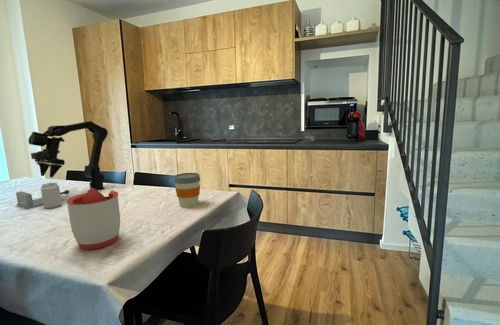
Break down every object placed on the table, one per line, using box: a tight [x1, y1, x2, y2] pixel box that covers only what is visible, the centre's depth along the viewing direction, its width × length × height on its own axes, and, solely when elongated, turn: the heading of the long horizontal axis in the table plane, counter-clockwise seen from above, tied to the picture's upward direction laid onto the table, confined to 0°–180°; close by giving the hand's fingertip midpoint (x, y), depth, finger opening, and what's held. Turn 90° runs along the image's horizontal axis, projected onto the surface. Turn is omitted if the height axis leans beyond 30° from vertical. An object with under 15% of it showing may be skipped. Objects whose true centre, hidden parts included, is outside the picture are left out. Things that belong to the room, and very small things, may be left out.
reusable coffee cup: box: [173, 172, 201, 208], centre depth 133 cm, size 13×12×15 cm
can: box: [40, 182, 63, 209], centre depth 135 cm, size 8×8×12 cm
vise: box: [15, 189, 70, 210], centre depth 145 cm, size 22×13×7 cm, turn 148°
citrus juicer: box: [65, 188, 121, 250], centre depth 94 cm, size 16×17×20 cm
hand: (46, 176), depth 144 cm, fingers open, 9 cm apart
